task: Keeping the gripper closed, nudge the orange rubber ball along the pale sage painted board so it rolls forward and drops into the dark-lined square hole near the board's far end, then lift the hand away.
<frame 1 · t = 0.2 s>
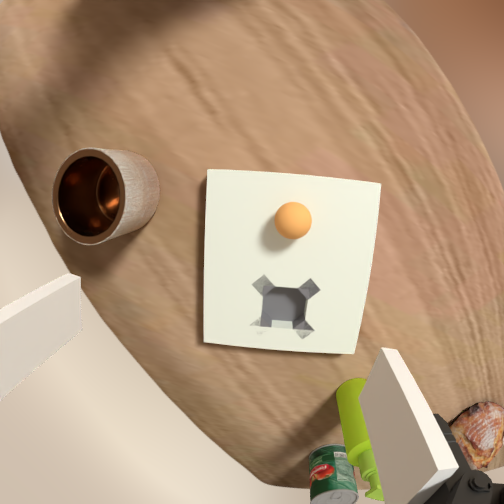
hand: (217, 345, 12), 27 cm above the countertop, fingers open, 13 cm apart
planter: (126, 191, 39), on the countertop
soap dispenser: (356, 393, 43), on the countertop
ball: (293, 220, 33), point 4 cm above the countertop, touching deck
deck: (287, 263, 39), on the countertop
bread: (470, 429, 44), on the countertop
canned tomato: (329, 455, 47), on the countertop
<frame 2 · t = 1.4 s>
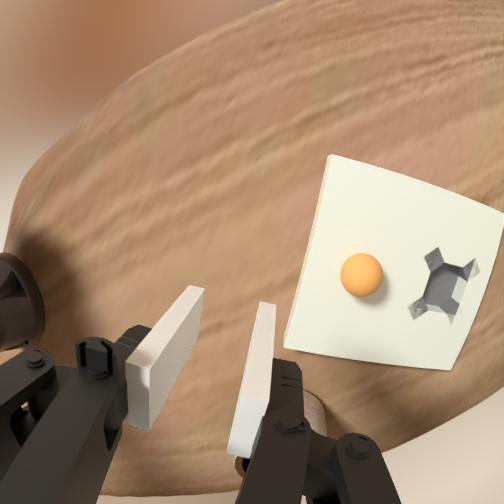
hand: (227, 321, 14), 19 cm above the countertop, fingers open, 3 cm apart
planter: (283, 413, 37), on the countertop
ball: (361, 275, 27), point 4 cm above the countertop, touching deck
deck: (401, 273, 31), on the countertop
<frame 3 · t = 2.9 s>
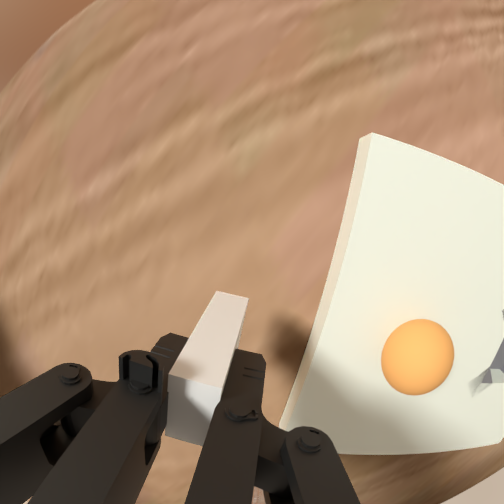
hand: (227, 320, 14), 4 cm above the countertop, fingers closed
ball: (417, 357, 14), point 4 cm above the countertop, touching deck
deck: (461, 331, 18), on the countertop
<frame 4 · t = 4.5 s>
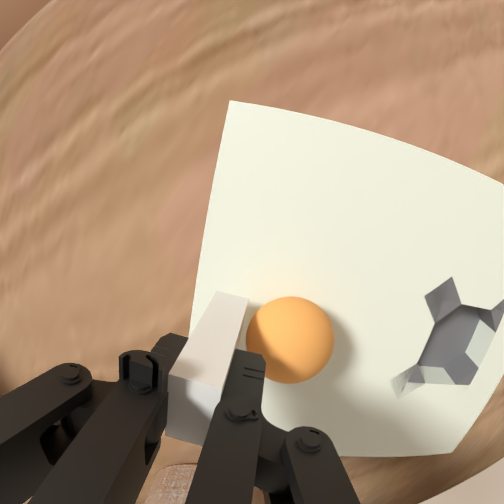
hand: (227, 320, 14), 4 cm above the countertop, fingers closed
planter: (210, 488, 24), on the countertop
ball: (290, 340, 14), point 4 cm above the countertop, touching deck
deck: (381, 320, 18), on the countertop
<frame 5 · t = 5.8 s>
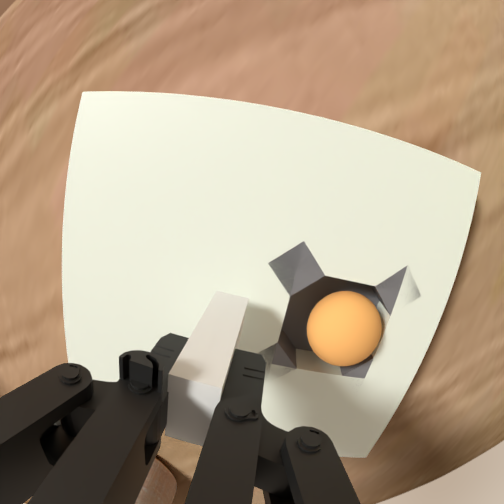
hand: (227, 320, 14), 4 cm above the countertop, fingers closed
planter: (128, 464, 24), on the countertop
ball: (344, 328, 16), point 2 cm above the countertop, tilted 13°, touching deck
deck: (245, 293, 18), on the countertop
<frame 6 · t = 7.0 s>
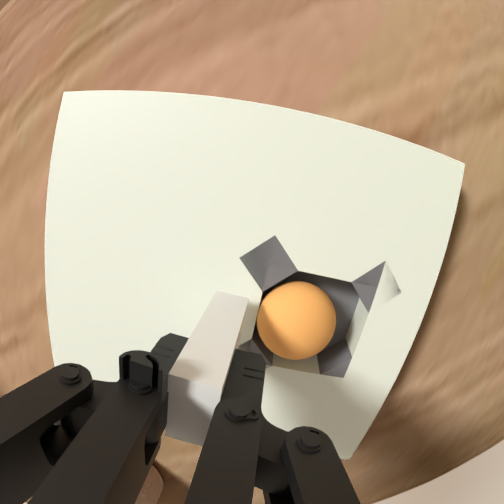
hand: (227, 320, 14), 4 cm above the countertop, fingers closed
planter: (116, 460, 24), on the countertop
ball: (296, 320, 15), point 2 cm above the countertop, tilted 50°, touching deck
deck: (222, 289, 18), on the countertop
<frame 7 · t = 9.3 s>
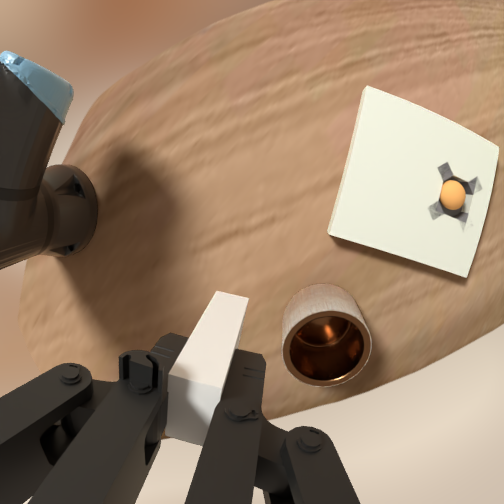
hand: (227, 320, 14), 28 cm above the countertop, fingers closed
planter: (320, 317, 43), on the countertop
ball: (452, 195, 35), point 2 cm above the countertop, tilted 48°, touching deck
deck: (420, 184, 37), on the countertop
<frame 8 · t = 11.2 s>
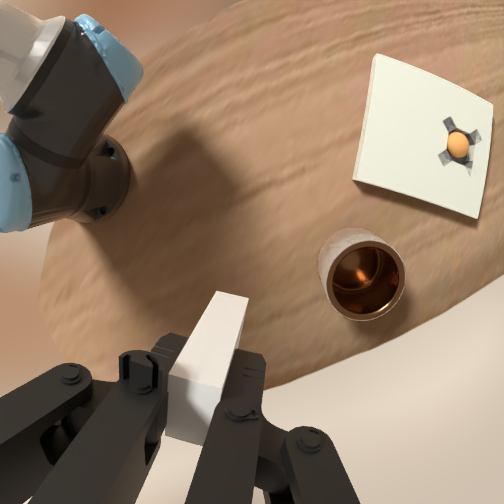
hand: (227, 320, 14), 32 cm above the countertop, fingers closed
planter: (351, 261, 46), on the countertop
ball: (457, 144, 37), point 2 cm above the countertop, tilted 47°, touching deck
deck: (428, 137, 40), on the countertop
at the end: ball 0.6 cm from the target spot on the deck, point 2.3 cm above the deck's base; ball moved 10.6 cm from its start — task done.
